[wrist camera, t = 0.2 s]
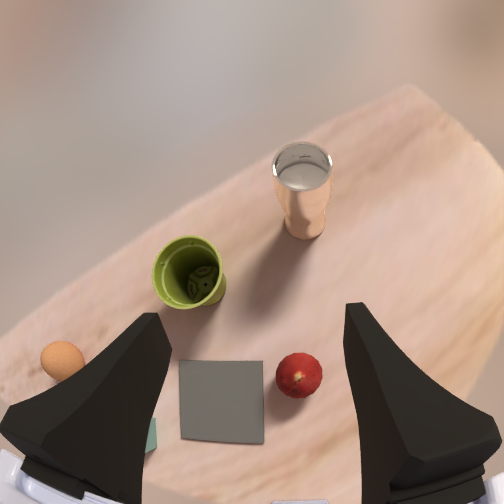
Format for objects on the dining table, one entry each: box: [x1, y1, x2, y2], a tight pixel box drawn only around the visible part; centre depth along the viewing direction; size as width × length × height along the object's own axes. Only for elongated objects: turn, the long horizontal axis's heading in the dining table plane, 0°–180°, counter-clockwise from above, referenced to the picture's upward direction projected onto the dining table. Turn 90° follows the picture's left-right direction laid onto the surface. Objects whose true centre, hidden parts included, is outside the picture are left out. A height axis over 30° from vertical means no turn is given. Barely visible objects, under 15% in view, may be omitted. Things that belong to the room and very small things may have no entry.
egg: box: [40, 341, 84, 381], centre depth 41 cm, size 7×7×9 cm
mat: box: [179, 360, 264, 443], centre depth 40 cm, size 12×12×1 cm
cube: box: [145, 418, 157, 453], centre depth 38 cm, size 5×5×5 cm
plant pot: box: [152, 235, 226, 309], centre depth 42 cm, size 9×9×9 cm
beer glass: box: [272, 142, 333, 240], centre depth 39 cm, size 7×7×15 cm
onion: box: [276, 353, 322, 398], centre depth 36 cm, size 6×6×8 cm
